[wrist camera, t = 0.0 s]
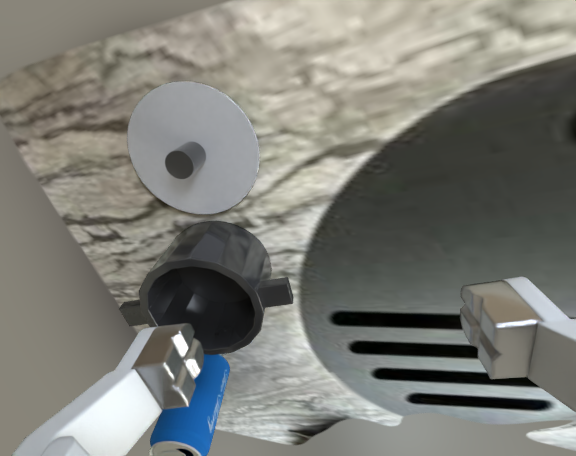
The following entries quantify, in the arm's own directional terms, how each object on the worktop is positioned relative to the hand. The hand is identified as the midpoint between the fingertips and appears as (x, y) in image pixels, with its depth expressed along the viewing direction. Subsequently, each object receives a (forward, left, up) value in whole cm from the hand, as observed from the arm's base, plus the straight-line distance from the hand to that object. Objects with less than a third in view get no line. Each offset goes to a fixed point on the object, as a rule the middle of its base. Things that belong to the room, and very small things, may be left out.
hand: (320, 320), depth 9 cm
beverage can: (+26, -20, -22) cm, 39 cm away
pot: (+11, -13, -22) cm, 27 cm away
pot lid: (-2, -11, -21) cm, 24 cm away
